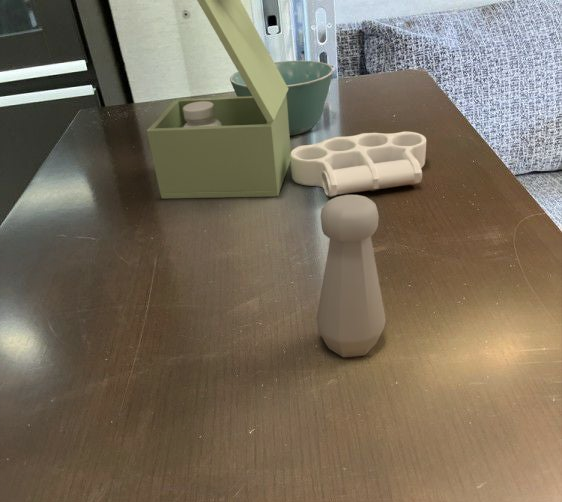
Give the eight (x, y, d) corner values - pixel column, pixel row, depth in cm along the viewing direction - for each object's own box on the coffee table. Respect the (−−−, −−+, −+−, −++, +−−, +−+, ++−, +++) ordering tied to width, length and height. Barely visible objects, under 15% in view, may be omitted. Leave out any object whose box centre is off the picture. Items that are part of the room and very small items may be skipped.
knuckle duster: (304, 207, 76) (285, 164, 87) (446, 186, 77) (410, 147, 88) (302, 180, 74) (283, 140, 85) (449, 159, 75) (411, 122, 86)
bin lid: (186, -18, 65) (228, -49, 63) (214, -35, 75) (251, -62, 73) (268, 123, 74) (307, 100, 71) (283, 92, 83) (319, 71, 81)
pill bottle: (214, 163, 88) (204, 96, 82) (236, 171, 85) (227, 103, 79) (183, 174, 86) (170, 107, 80) (204, 184, 82) (192, 114, 77)
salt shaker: (306, 337, 55) (295, 198, 47) (360, 316, 57) (359, 179, 49) (340, 372, 51) (335, 226, 43) (398, 348, 53) (404, 204, 45)
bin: (161, 198, 82) (146, 130, 76) (186, 162, 91) (174, 99, 86) (278, 196, 79) (271, 126, 74) (291, 159, 89) (286, 94, 83)
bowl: (241, 115, 106) (234, 63, 101) (333, 108, 105) (332, 55, 100) (232, 148, 94) (224, 90, 89) (336, 141, 93) (334, 82, 88)
